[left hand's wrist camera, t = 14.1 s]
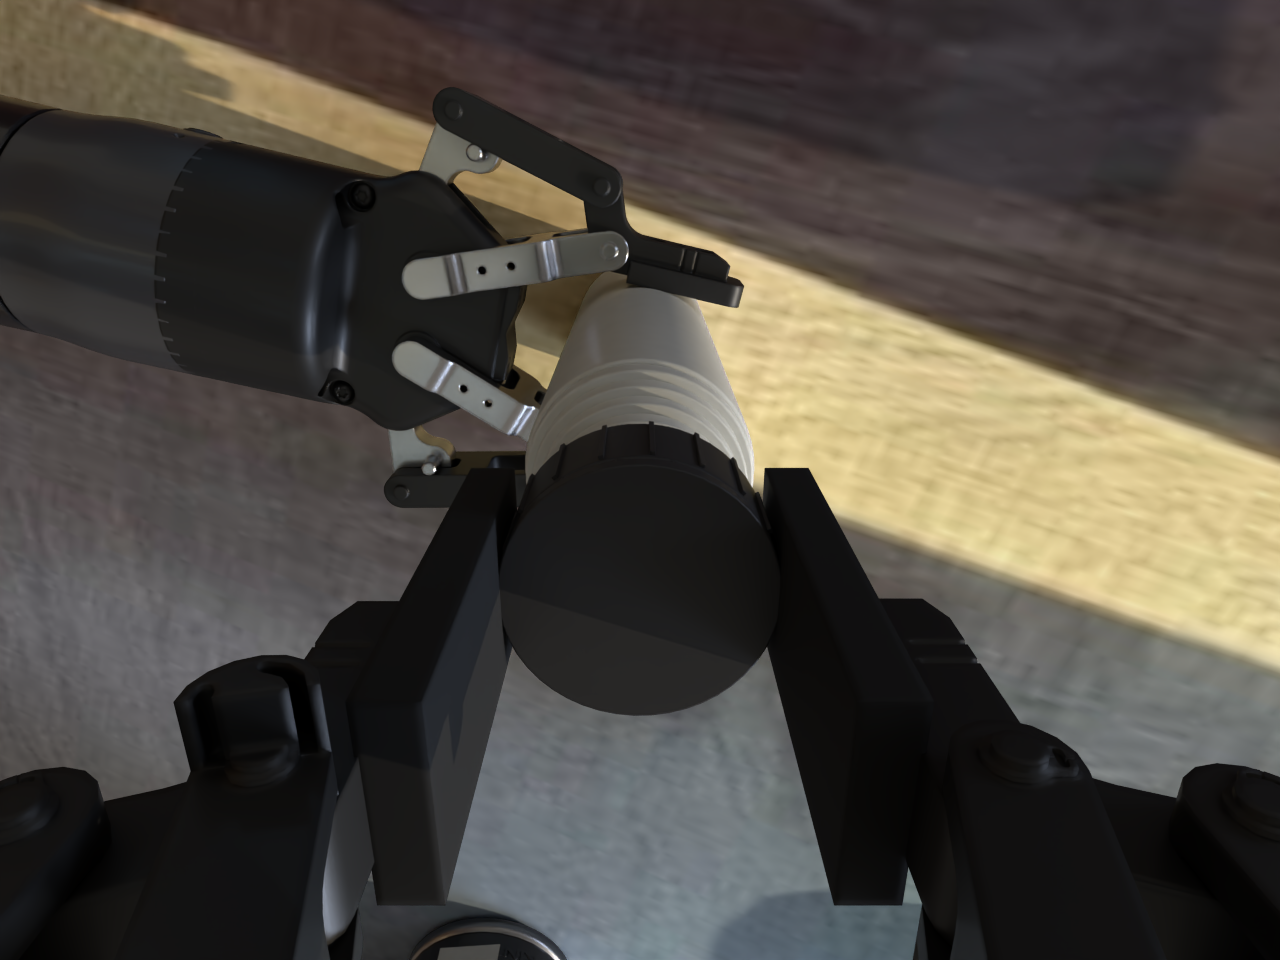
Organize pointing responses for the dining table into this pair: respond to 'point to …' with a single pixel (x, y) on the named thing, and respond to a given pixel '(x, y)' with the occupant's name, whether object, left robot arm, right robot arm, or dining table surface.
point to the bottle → (638, 374)
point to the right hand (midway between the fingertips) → (714, 373)
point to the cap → (639, 571)
